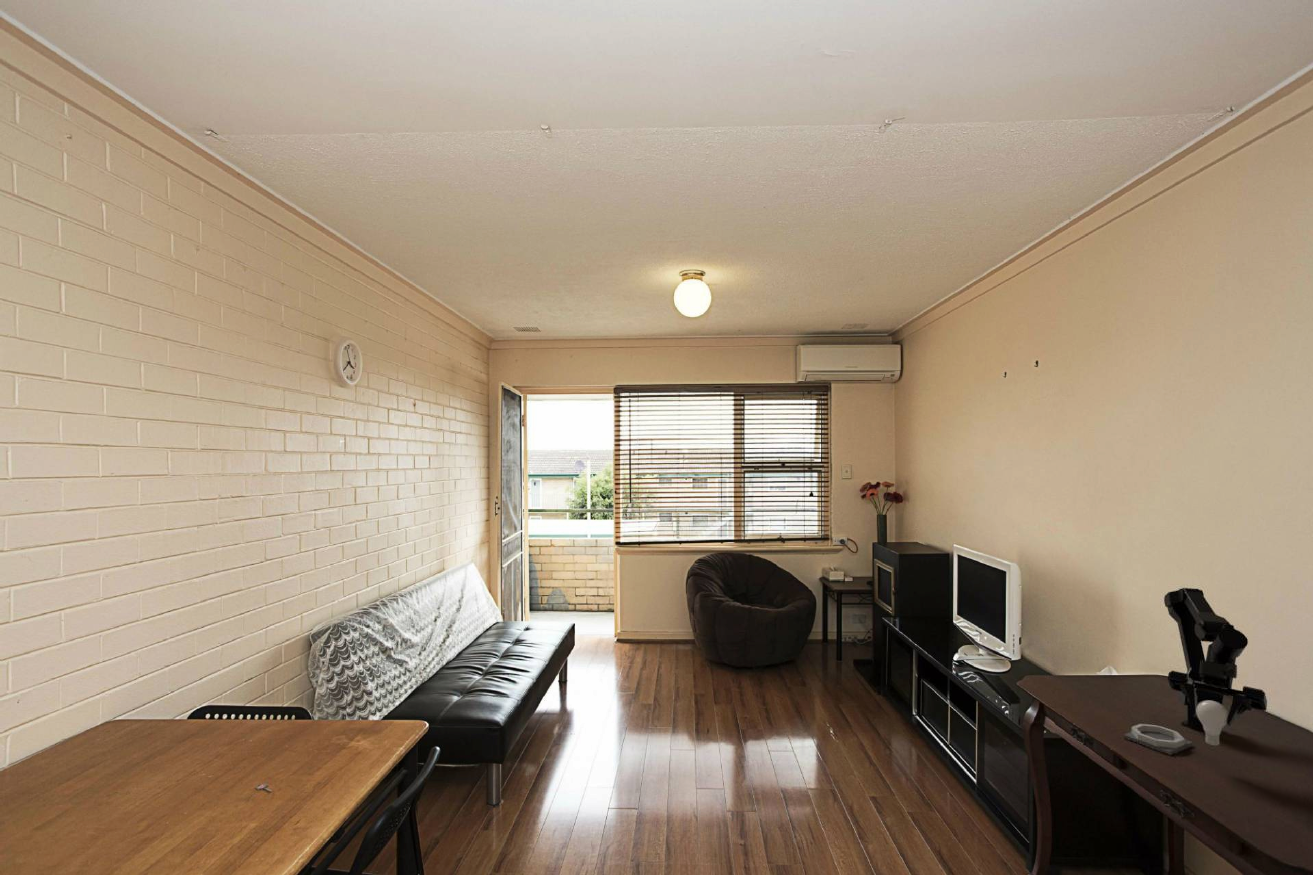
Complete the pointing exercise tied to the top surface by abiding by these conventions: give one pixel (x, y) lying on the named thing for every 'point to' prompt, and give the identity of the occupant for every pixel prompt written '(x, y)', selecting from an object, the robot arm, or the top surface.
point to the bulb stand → (1158, 738)
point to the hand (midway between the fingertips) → (1210, 720)
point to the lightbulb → (1212, 719)
